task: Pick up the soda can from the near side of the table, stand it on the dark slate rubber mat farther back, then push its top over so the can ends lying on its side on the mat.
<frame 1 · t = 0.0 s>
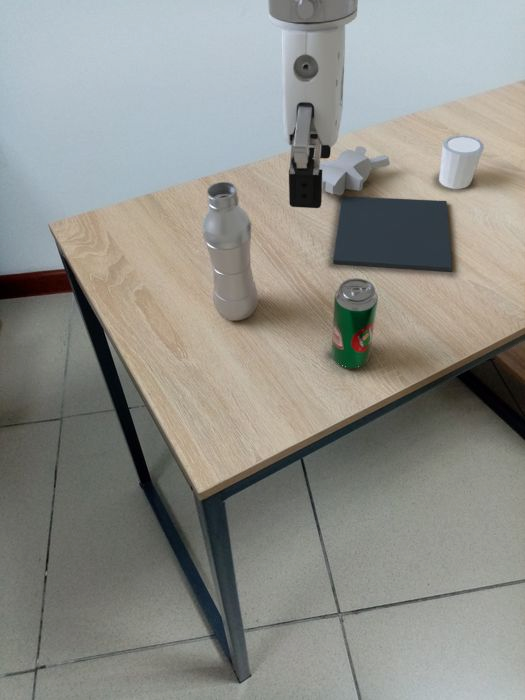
hand: (311, 180, 57), 23 cm above the table, tool pointing down, fingers open, 9 cm apart
shot glass: (454, 181, 97), on the table
grey irregular branched block: (348, 183, 99), on the table, touching mat
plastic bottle: (237, 311, 78), on the table
soda can: (350, 357, 71), on the table
mat: (392, 232, 88), on the table
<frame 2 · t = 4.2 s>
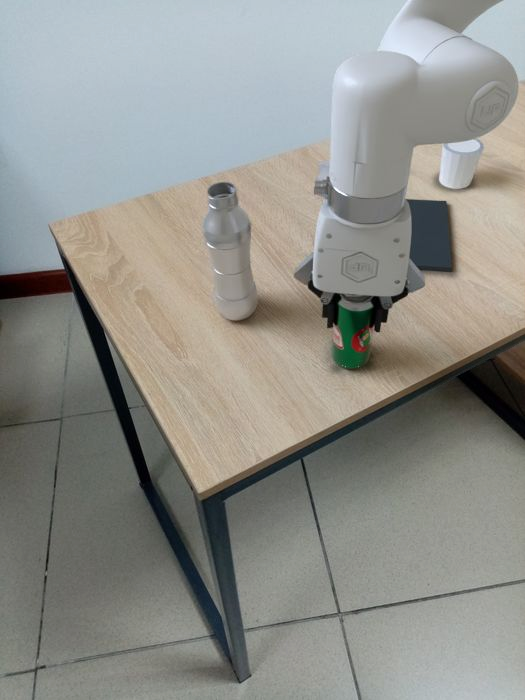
hand: (354, 321, 66), 7 cm above the table, tool pointing down, fingers closed on soda can, 5 cm apart
soda can: (350, 357, 71), on the table, touching gripper
everything else where it was.
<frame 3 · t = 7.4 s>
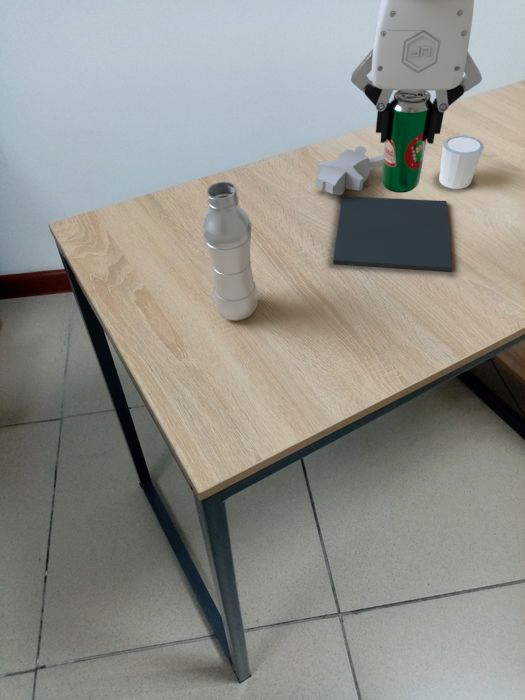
hand: (406, 136, 67), 21 cm above the table, tool pointing down, fingers closed on soda can, 5 cm apart
soda can: (399, 185, 73), point 14 cm above the table, touching gripper
everything else where it was.
when the fingers open (8 cm above the table, at t = 11.1 s): soda can stays where it is, resting on mat.
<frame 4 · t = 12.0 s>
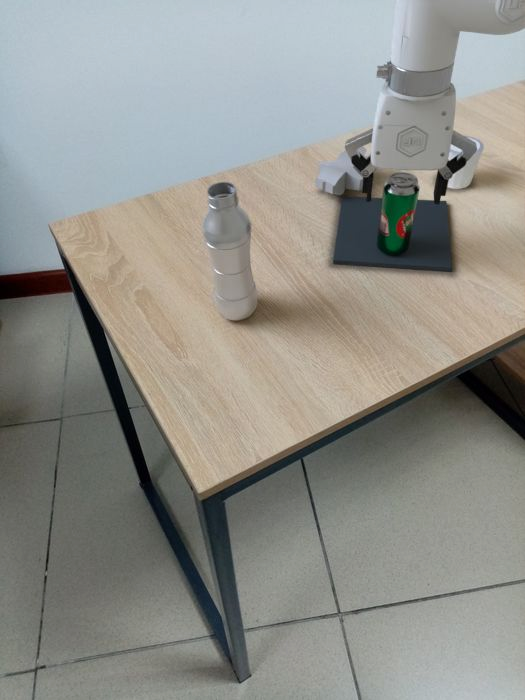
hand: (402, 197, 78), 10 cm above the table, tool pointing down, fingers open, 9 cm apart
soda can: (392, 248, 85), point 1 cm above the table, touching mat
everything else where it was.
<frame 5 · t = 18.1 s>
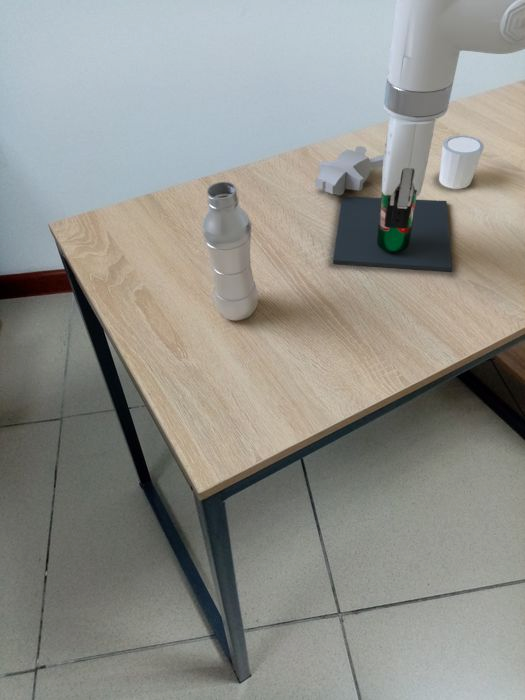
hand: (395, 224, 76), 8 cm above the table, tool pointing down, fingers closed
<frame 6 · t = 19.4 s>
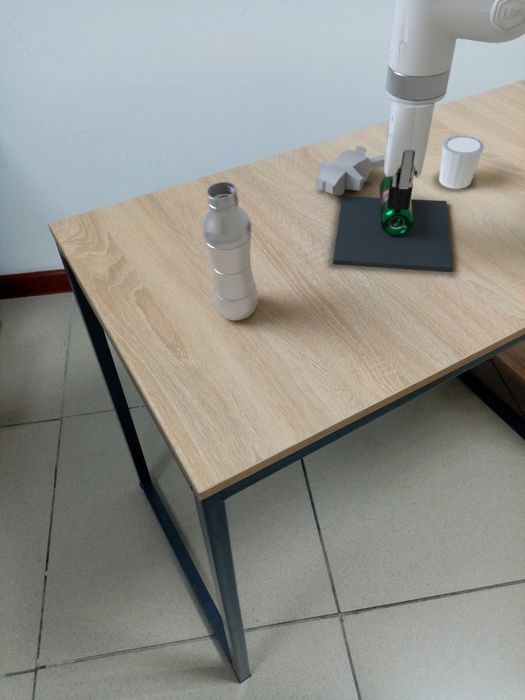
hand: (397, 206, 80), 8 cm above the table, tool pointing down, fingers closed
soda can: (397, 225, 84), point 3 cm above the table, touching mat
everything else where it was.
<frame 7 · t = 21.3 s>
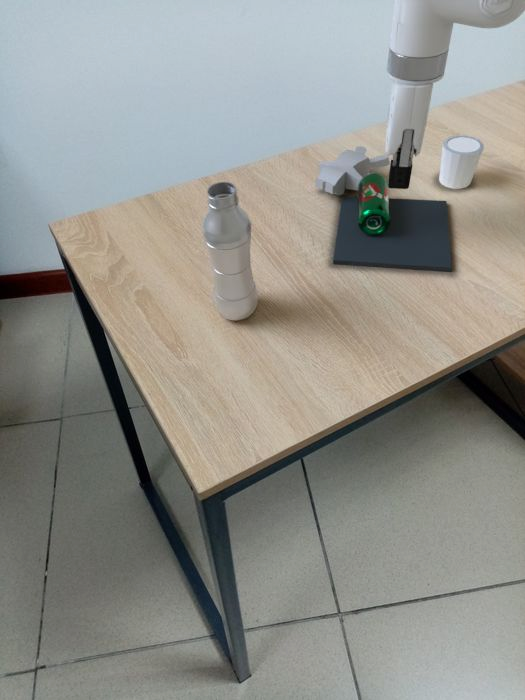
hand: (398, 185, 84), 8 cm above the table, tool pointing down, fingers closed
grey irregular branched block: (348, 183, 99), on the table, touching mat, soda can
soda can: (374, 225, 84), point 3 cm above the table, touching grey irregular branched block, mat
everything else where it was.
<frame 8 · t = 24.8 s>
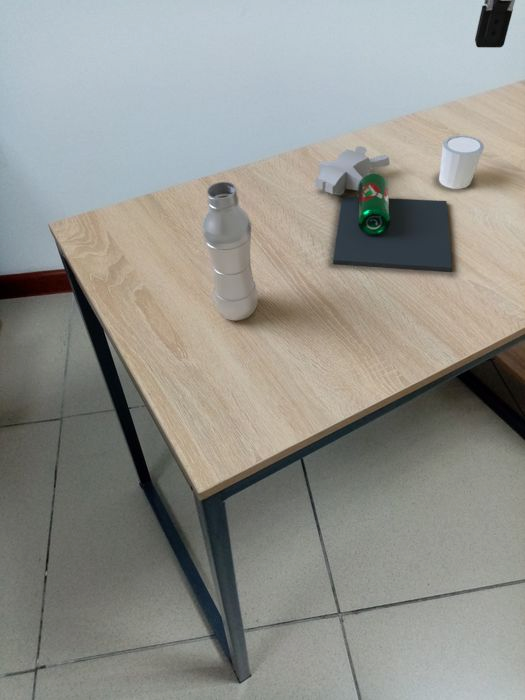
hand: (488, 44, 64), 29 cm above the table, tool pointing down, fingers closed
nothing on the table moved.
at the end: soda can tilted 90°; soda can inside the target area on the mat (4.2 cm from its centre), point 3.3 cm above the mat's base; the gripper is holding nothing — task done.
